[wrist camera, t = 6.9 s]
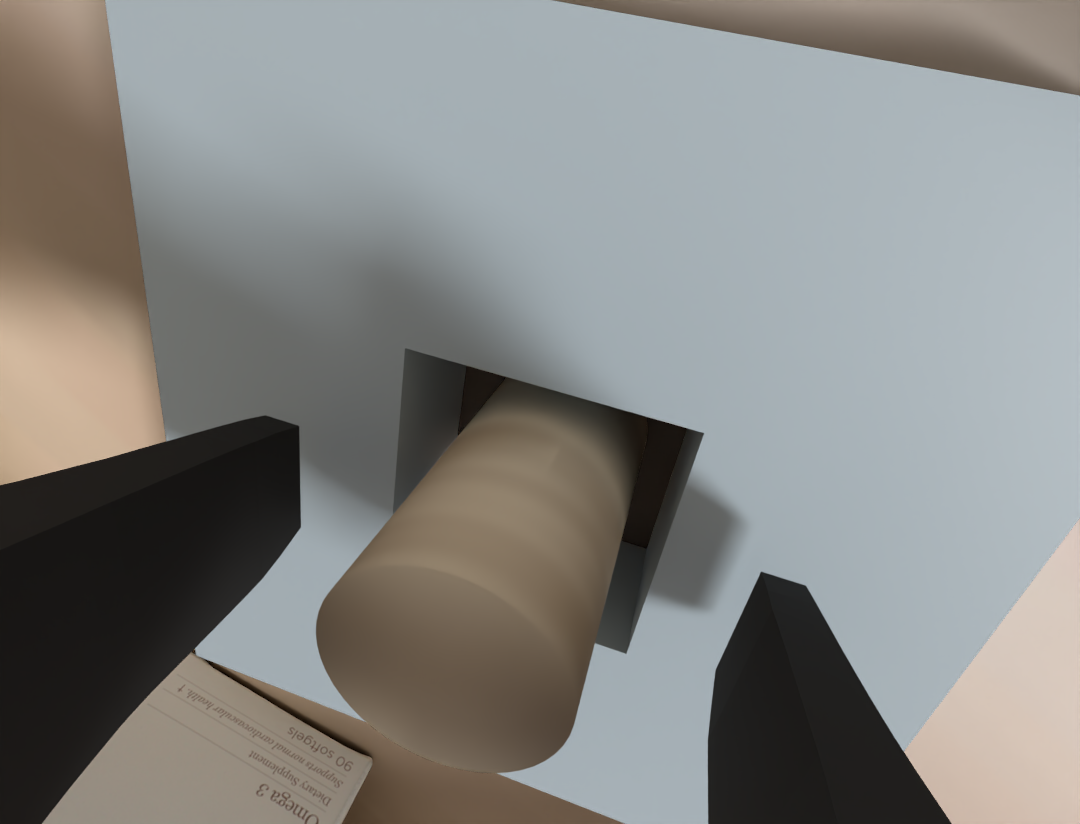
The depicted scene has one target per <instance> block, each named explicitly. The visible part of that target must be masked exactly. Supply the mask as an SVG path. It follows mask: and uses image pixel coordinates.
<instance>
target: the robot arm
mask: <svg viewBox="0 0 1080 824" xmlns="http://www.w3.org/2000/svg"><path fill="white" fill-rule="evenodd" d="M300 528H301V496H300V436H299V426H298V425H295V424H292V423H288V422H285V421H282V420H279V419H276V418H273V417H269V416H266V415H264V416H259V417H254V418H249V419H245V420H241V421H237V422H233V423H230V424H226V425H222V426H218V427H215V428H211V429H208V430H204V431H201V432H197V433H194V434H190V435H187V436H183V437H180V438H177V439H173V440H170V441H166V442H163V443H159V444H156V445H152V446H149V447H145V448H142V449H138V450H135V451H131V452H128V453H124V454H121V455H117V456H114V457H110V458H107V459H103V460H99V461H95V462H91V463H87V464H83V465H80V466H76V467H72V468H68V469H64V470H60V471H56V472H52V473H48V474H45V475H41V476H37V477H33V478H29V479H25V480H21V481H17V482H13V483H8V484H4V485H0V824H42V823H43V822H44V820H45V819H46V818H47V817H48V815H49V814H50V813H51V811H52V810H53V809H54V808H55V806H56V805H57V804H58V803H59V801H60V800H61V799H62V797H63V796H64V795H65V794H66V792H67V791H68V790H69V788H70V787H71V786H72V785H73V784H74V782H75V781H76V780H77V779H78V777H79V776H80V775H81V774H82V773H83V771H84V770H85V769H86V768H87V767H88V765H89V764H90V763H91V762H92V760H93V759H94V758H95V757H96V756H97V754H98V753H99V752H100V751H101V750H102V748H103V747H104V746H105V745H106V743H107V742H108V741H109V740H110V739H111V737H112V736H113V735H114V734H115V733H116V731H117V730H118V729H119V728H120V726H121V725H122V724H123V723H124V722H125V721H126V720H127V719H128V717H129V716H130V715H131V714H132V713H133V712H134V711H135V710H136V709H137V708H138V707H139V705H140V704H141V703H142V702H143V701H144V700H145V699H146V698H147V697H148V696H149V695H150V693H151V692H152V691H153V690H154V689H155V688H156V687H157V686H158V685H159V684H160V683H161V682H162V681H163V680H164V679H165V678H166V677H167V676H168V675H169V674H170V673H171V672H172V671H173V670H174V669H175V668H176V667H177V666H178V665H179V664H180V663H181V662H182V661H183V660H184V659H185V658H186V657H187V656H188V655H189V654H190V653H191V652H192V651H193V650H194V649H195V648H196V647H197V646H198V645H199V644H200V643H201V642H202V641H203V640H204V639H205V638H206V637H207V636H208V635H209V634H210V633H211V632H212V631H213V630H214V629H215V628H216V627H217V625H218V624H219V623H220V622H221V621H222V620H223V619H224V618H225V617H226V616H227V615H228V614H229V613H230V612H231V611H232V610H233V609H234V608H235V607H236V606H237V605H238V604H239V603H240V602H241V601H242V600H243V599H244V598H245V597H246V596H247V595H248V594H249V593H250V592H251V590H252V589H253V588H254V587H255V586H256V585H257V584H258V583H259V582H260V581H261V580H262V579H263V578H264V576H265V575H266V574H267V572H268V571H269V570H270V569H271V567H272V566H273V565H274V563H275V562H276V561H277V560H278V558H279V557H280V556H281V554H282V553H283V552H284V550H285V549H286V547H287V546H288V545H289V543H290V542H291V541H292V539H293V538H294V536H295V535H296V534H297V532H298V531H299V529H300ZM708 824H951V822H950V821H949V819H948V818H947V816H946V815H945V813H944V812H943V810H942V809H941V807H940V806H939V804H938V803H937V801H936V800H935V798H934V797H933V795H932V794H931V792H930V791H929V789H928V788H927V786H926V785H925V784H924V782H923V781H922V779H921V778H920V776H919V775H918V773H917V772H916V770H915V769H914V767H913V765H912V764H911V762H910V761H909V759H908V758H907V756H906V755H905V753H904V751H903V750H902V748H901V747H900V745H899V744H898V742H897V740H896V739H895V737H894V736H893V734H892V732H891V731H890V729H889V728H888V726H887V724H886V723H885V721H884V720H883V718H882V716H881V715H880V713H879V711H878V710H877V708H876V706H875V705H874V703H873V701H872V700H871V698H870V696H869V695H868V693H867V691H866V690H865V688H864V686H863V685H862V683H861V681H860V679H859V678H858V676H857V674H856V673H855V671H854V669H853V667H852V666H851V664H850V662H849V660H848V659H847V657H846V655H845V653H844V652H843V650H842V648H841V646H840V645H839V643H838V641H837V639H836V638H835V636H834V634H833V632H832V631H831V629H830V627H829V625H828V623H827V622H826V620H825V618H824V616H823V614H822V613H821V611H820V609H819V607H818V606H817V604H816V602H815V600H814V598H813V597H812V595H811V593H810V592H809V590H808V588H807V586H806V585H802V584H799V583H796V582H793V581H790V580H787V579H783V578H780V577H777V576H774V575H771V574H768V573H764V572H761V573H760V575H759V577H758V579H757V581H756V584H755V586H754V588H753V590H752V592H751V594H750V597H749V599H748V601H747V603H746V605H745V607H744V610H743V612H742V614H741V616H740V618H739V620H738V623H737V625H736V627H735V629H734V631H733V633H732V635H731V638H730V640H729V642H728V644H727V646H726V648H725V651H724V653H723V655H722V657H721V659H720V661H719V664H718V666H717V668H716V670H715V679H714V687H713V695H712V704H711V713H710V723H709V733H708Z"/></svg>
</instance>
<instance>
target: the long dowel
mask: <svg viewBox="0 0 1080 824" xmlns="http://www.w3.org/2000/svg"><path fill="white" fill-rule="evenodd" d="M647 428H648V426H647V417H646V416H642V415H639V414H635V413H632V412H628V411H625V410H621V409H618V408H614V407H611V406H607V405H604V404H600V403H596V402H593V401H589V400H586V399H582V398H579V397H575V396H572V395H568V394H565V393H561V392H558V391H554V390H551V389H547V388H544V387H540V386H537V385H533V384H530V383H526V382H523V381H519V380H516V379H512V378H509V377H506V379H505V380H504V381H503V382H502V383H501V385H500V386H499V387H498V388H497V390H496V391H495V392H494V393H493V394H492V396H491V397H490V398H489V399H488V400H487V402H486V403H485V404H484V405H483V406H482V408H481V409H480V410H479V411H478V413H477V414H476V415H475V416H474V417H473V419H472V420H471V421H470V422H469V423H468V425H467V426H466V427H465V428H464V429H463V431H462V432H461V433H460V434H459V436H458V437H457V438H456V439H455V440H454V442H453V443H452V444H451V445H450V446H449V448H448V449H447V450H446V451H445V452H444V454H443V455H442V456H441V457H440V458H439V460H438V461H437V462H436V463H435V465H434V466H433V467H432V468H431V469H430V471H429V472H428V473H427V474H426V475H425V477H424V478H423V479H422V480H421V481H420V483H419V484H418V485H417V486H416V488H415V489H414V490H413V491H412V492H411V494H410V495H409V496H408V497H407V498H406V500H405V501H404V502H403V503H402V504H401V506H400V507H399V508H398V509H397V511H396V512H395V513H394V514H393V515H392V517H391V518H390V519H389V520H388V521H387V523H386V524H385V525H384V526H383V527H382V529H381V530H380V531H379V532H378V534H377V535H376V536H375V537H374V538H373V540H372V541H371V542H370V543H369V544H368V546H367V547H366V548H365V549H364V550H363V552H362V553H361V554H360V555H359V556H358V558H357V559H356V560H355V561H354V563H353V564H352V565H351V566H350V567H349V569H348V570H347V571H346V572H345V573H344V575H343V576H342V577H341V578H340V579H339V581H338V582H337V583H336V584H335V586H334V587H333V588H332V589H331V590H330V592H329V593H328V595H327V596H326V597H325V599H324V600H323V602H322V605H321V607H320V609H319V612H318V616H317V621H316V640H317V647H318V651H319V655H320V658H321V661H322V663H323V666H324V668H325V670H326V672H327V674H328V676H329V678H330V680H331V681H332V683H333V685H334V686H335V688H336V689H337V691H338V692H339V693H340V695H341V696H342V697H343V699H344V700H345V701H346V702H347V703H348V704H349V706H350V707H351V708H352V709H353V710H354V711H355V712H356V713H357V714H358V715H359V716H360V717H361V718H362V719H363V720H364V721H366V722H367V723H368V724H369V725H370V726H371V727H373V728H374V729H375V730H377V731H378V732H379V733H381V734H382V735H383V736H385V737H386V738H388V739H389V740H391V741H393V742H394V743H396V744H397V745H399V746H401V747H402V748H404V749H406V750H408V751H410V752H412V753H414V754H416V755H418V756H421V757H423V758H425V759H428V760H430V761H433V762H436V763H439V764H442V765H445V766H448V767H452V768H456V769H460V770H466V771H472V772H481V773H507V772H514V771H520V770H524V769H527V768H530V767H534V766H536V765H538V764H540V763H542V762H544V761H546V760H547V759H549V758H550V757H552V756H553V755H555V754H556V753H557V752H558V751H559V750H560V749H561V748H562V747H563V745H564V744H565V742H566V741H567V739H568V738H569V736H570V734H571V731H572V729H573V726H574V723H575V719H576V715H577V711H578V707H579V704H580V700H581V696H582V692H583V688H584V684H585V680H586V676H587V672H588V668H589V664H590V660H591V657H592V653H593V649H594V645H595V641H596V637H597V633H598V629H599V625H600V621H601V617H602V613H603V610H604V606H605V602H606V598H607V594H608V590H609V586H610V582H611V578H612V574H613V570H614V566H615V563H616V559H617V555H618V551H619V547H620V543H621V539H622V535H623V531H624V527H625V523H626V519H627V516H628V512H629V508H630V504H631V500H632V496H633V492H634V488H635V484H636V480H637V476H638V472H639V469H640V465H641V461H642V457H643V453H644V449H645V445H646V440H647Z"/></svg>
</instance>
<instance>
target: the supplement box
mask: <svg viewBox="0 0 1080 824" xmlns="http://www.w3.org/2000/svg"><path fill="white" fill-rule="evenodd" d="M372 763H373V762H372V758H371V757H369V756H366V755H363V754H360V753H358V752H356V751H354V750H351V749H349V748H347V747H345V746H343V745H342V744H340V743H338V742H336V741H335V740H333V739H331V738H330V737H328V736H326V735H324V734H323V733H321V732H319V731H317V730H316V729H314V728H312V727H311V726H309V725H307V724H305V723H304V722H302V721H300V720H299V719H297V718H295V717H293V716H292V715H290V714H288V713H287V712H285V711H283V710H282V709H280V708H279V707H277V706H275V705H274V704H272V703H270V702H269V701H267V700H266V699H264V698H262V697H260V696H259V695H257V694H255V693H254V692H252V691H251V690H249V689H248V688H246V687H244V686H242V685H241V684H239V683H237V682H236V681H234V680H232V679H231V678H229V677H227V676H226V675H224V674H222V673H221V672H219V671H218V670H216V669H214V668H213V667H212V666H210V665H209V664H208V663H207V662H206V661H205V660H203V659H202V658H200V657H199V656H196V655H195V654H194V653H192V652H191V653H190V654H189V655H188V656H187V657H186V658H185V659H184V660H183V661H182V662H181V663H180V664H179V665H178V666H177V667H176V668H175V669H174V670H173V671H172V672H171V673H170V674H169V675H168V676H167V677H166V678H165V679H164V680H163V681H162V682H161V683H160V684H159V685H158V686H157V687H156V688H155V689H154V690H153V691H152V692H151V693H150V695H149V696H148V697H147V698H146V699H145V700H144V701H143V702H142V703H141V704H140V705H139V707H138V708H137V709H136V710H135V711H134V712H133V713H132V714H131V715H130V716H129V717H128V719H127V720H126V721H125V722H124V723H123V724H122V725H121V726H120V728H119V729H118V730H117V731H116V733H115V734H114V735H113V736H112V737H111V739H110V740H109V741H108V742H107V743H106V745H105V746H104V747H103V748H102V750H101V751H100V752H99V753H98V754H97V756H96V757H95V758H94V759H93V760H92V762H91V763H90V764H89V765H88V767H87V768H86V769H85V770H84V771H83V773H82V774H81V775H80V776H79V777H78V779H77V780H76V781H75V782H74V784H73V785H72V786H71V787H70V788H69V790H68V791H67V792H66V794H65V795H64V796H63V797H62V799H61V800H60V801H59V803H58V804H57V805H56V806H55V808H54V809H53V810H52V811H51V813H50V814H49V815H48V817H47V818H46V819H45V820H44V822H43V823H42V824H342V822H343V821H344V819H345V817H346V815H347V813H348V811H349V809H350V807H351V805H352V803H353V801H354V799H355V797H356V795H357V793H358V791H359V790H360V788H361V786H362V784H363V782H364V780H365V778H366V776H367V774H368V772H369V771H370V769H371V767H372Z"/></svg>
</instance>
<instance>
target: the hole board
mask: <svg viewBox="0 0 1080 824" xmlns="http://www.w3.org/2000/svg"><path fill="white" fill-rule="evenodd" d="M105 4H106V11H107V18H108V25H109V32H110V40H111V47H112V54H113V61H114V68H115V76H116V83H117V90H118V97H119V104H120V112H121V119H122V126H123V133H124V140H125V147H126V155H127V162H128V169H129V176H130V183H131V191H132V198H133V205H134V212H135V219H136V227H137V234H138V241H139V248H140V255H141V263H142V270H143V277H144V284H145V291H146V299H147V306H148V313H149V320H150V327H151V334H152V342H153V349H154V356H155V363H156V370H157V378H158V385H159V392H160V399H161V406H162V414H163V421H164V428H165V435H166V441H170V440H173V439H177V438H180V437H183V436H187V435H190V434H194V433H197V432H201V431H204V430H208V429H211V428H215V427H218V426H222V425H226V424H230V423H233V422H237V421H241V420H245V419H249V418H254V417H259V416H264V415H266V416H269V417H273V418H276V419H279V420H282V421H285V422H288V423H292V424H295V425H298V426H299V436H300V496H301V528H300V529H299V531H298V532H297V534H296V535H295V536H294V538H293V539H292V541H291V542H290V543H289V545H288V546H287V547H286V549H285V550H284V552H283V553H282V554H281V556H280V557H279V558H278V560H277V561H276V562H275V563H274V565H273V566H272V567H271V569H270V570H269V571H268V572H267V574H266V575H265V576H264V578H263V579H262V580H261V581H260V582H259V583H258V584H257V585H256V586H255V587H254V588H253V589H252V590H251V592H250V593H249V594H248V595H247V596H246V597H245V598H244V599H243V600H242V601H241V602H240V603H239V604H238V605H237V606H236V607H235V608H234V609H233V610H232V611H231V612H230V613H229V614H228V615H227V616H226V617H225V618H224V619H223V620H222V621H221V622H220V623H219V624H218V625H217V627H216V628H215V629H214V630H213V631H212V632H211V633H210V634H209V635H208V636H207V637H206V638H205V639H204V640H203V641H202V642H201V643H200V644H199V645H198V646H197V647H196V648H195V651H196V656H199V657H201V658H204V659H206V660H209V661H212V662H214V663H217V664H219V665H222V666H224V667H227V668H229V669H232V670H234V671H237V672H240V673H242V674H245V675H247V676H250V677H252V678H255V679H257V680H260V681H263V682H265V683H268V684H270V685H273V686H275V687H278V688H280V689H283V690H285V691H288V692H291V693H293V694H296V695H298V696H301V697H303V698H306V699H308V700H311V701H313V702H316V703H319V704H321V705H324V706H326V707H329V708H331V709H334V710H336V711H339V712H342V713H344V714H347V715H349V716H352V717H354V718H357V719H359V720H362V721H364V720H363V719H362V718H361V717H360V716H359V715H358V714H357V713H356V712H355V711H354V710H353V709H352V708H351V707H350V706H349V704H348V703H347V702H346V701H345V700H344V699H343V697H342V696H341V695H340V693H339V692H338V691H337V689H336V688H335V686H334V685H333V683H332V681H331V680H330V678H329V676H328V674H327V672H326V670H325V668H324V666H323V663H322V661H321V658H320V655H319V651H318V647H317V640H316V621H317V616H318V612H319V609H320V607H321V605H322V602H323V600H324V599H325V597H326V596H327V595H328V593H329V592H330V590H331V589H332V588H333V587H334V586H335V584H336V583H337V582H338V581H339V579H340V578H341V577H342V576H343V575H344V573H345V572H346V571H347V570H348V569H349V567H350V566H351V565H352V564H353V563H354V561H355V560H356V559H357V558H358V556H359V555H360V554H361V553H362V552H363V550H364V549H365V548H366V547H367V546H368V544H369V543H370V542H371V541H372V540H373V538H374V537H375V536H376V535H377V534H378V532H379V531H380V530H381V529H382V527H383V526H384V525H385V524H386V523H387V521H388V520H389V519H390V518H391V517H392V515H393V514H394V513H395V512H396V511H397V509H398V508H399V507H400V506H401V504H402V503H403V502H404V501H405V500H406V498H407V497H408V496H409V495H410V494H411V492H412V491H413V490H414V489H415V488H416V486H417V485H418V484H419V483H420V481H421V480H422V479H423V478H424V477H425V475H426V474H427V473H428V472H429V471H430V469H431V468H432V467H433V466H434V465H435V463H436V462H437V461H438V460H439V458H440V457H441V456H442V455H443V454H444V452H445V451H446V450H447V449H448V448H449V446H450V445H451V444H452V443H453V442H454V440H455V439H456V438H457V436H458V428H459V420H460V413H461V405H462V397H463V389H464V381H465V373H466V366H470V367H473V368H477V369H480V370H484V371H487V372H491V373H494V374H498V375H502V376H505V377H509V378H512V379H516V380H519V381H523V382H526V383H530V384H533V385H537V386H540V387H544V388H547V389H551V390H554V391H558V392H561V393H565V394H568V395H572V396H575V397H579V398H582V399H586V400H589V401H593V402H596V403H600V404H604V405H607V406H611V407H614V408H618V409H621V410H625V411H628V412H632V413H635V414H639V415H642V416H646V417H649V418H653V419H656V420H660V421H663V422H667V423H670V424H674V425H677V426H681V427H684V428H687V430H686V433H685V436H684V439H683V442H682V445H681V448H680V451H679V454H678V457H677V460H676V463H675V466H674V469H673V472H672V475H671V478H670V481H669V484H668V487H667V490H666V493H665V496H664V499H663V502H662V505H661V508H660V511H659V514H658V517H657V519H656V522H655V525H654V528H653V531H652V534H651V537H650V540H649V543H648V546H647V549H646V548H642V547H639V546H636V545H633V544H630V543H627V542H624V541H621V543H620V547H619V551H618V555H617V559H616V563H615V566H614V570H613V574H612V578H611V582H610V586H609V590H608V594H607V598H606V602H605V606H604V610H603V613H602V617H601V621H600V625H599V629H598V633H597V637H596V641H595V645H594V649H593V653H592V657H591V660H590V664H589V668H588V672H587V676H586V680H585V684H584V688H583V692H582V696H581V700H580V704H579V707H578V711H577V715H576V719H575V723H574V726H573V729H572V731H571V734H570V736H569V738H568V739H567V741H566V742H565V744H564V745H563V747H562V748H561V749H560V750H559V751H558V752H557V753H556V754H555V755H553V756H552V757H550V758H549V759H547V760H546V761H544V762H542V763H540V764H538V765H536V766H534V767H530V768H527V769H524V770H520V771H514V772H507V773H497V774H500V775H502V776H505V777H507V778H510V779H512V780H515V781H517V782H520V783H523V784H525V785H528V786H530V787H533V788H535V789H538V790H540V791H543V792H545V793H548V794H551V795H553V796H556V797H558V798H561V799H563V800H566V801H568V802H571V803H573V804H576V805H579V806H581V807H584V808H586V809H589V810H591V811H594V812H596V813H599V814H602V815H604V816H607V817H609V818H612V819H614V820H617V821H619V822H622V823H624V824H708V733H709V723H710V713H711V704H712V695H713V687H714V679H715V670H716V668H717V666H718V664H719V661H720V659H721V657H722V655H723V653H724V651H725V648H726V646H727V644H728V642H729V640H730V638H731V635H732V633H733V631H734V629H735V627H736V625H737V623H738V620H739V618H740V616H741V614H742V612H743V610H744V607H745V605H746V603H747V601H748V599H749V597H750V594H751V592H752V590H753V588H754V586H755V584H756V581H757V579H758V577H759V575H760V573H761V572H764V573H768V574H771V575H774V576H777V577H780V578H783V579H787V580H790V581H793V582H796V583H799V584H802V585H806V586H807V588H808V590H809V592H810V593H811V595H812V597H813V598H814V600H815V602H816V604H817V606H818V607H819V609H820V611H821V613H822V614H823V616H824V618H825V620H826V622H827V623H828V625H829V627H830V629H831V631H832V632H833V634H834V636H835V638H836V639H837V641H838V643H839V645H840V646H841V648H842V650H843V652H844V653H845V655H846V657H847V659H848V660H849V662H850V664H851V666H852V667H853V669H854V671H855V673H856V674H857V676H858V678H859V679H860V681H861V683H862V685H863V686H864V688H865V690H866V691H867V693H868V695H869V696H870V698H871V700H872V701H873V703H874V705H875V706H876V708H877V710H878V711H879V713H880V715H881V716H882V718H883V720H884V721H885V723H886V724H887V726H888V728H889V729H890V731H891V732H892V734H893V736H894V737H895V739H896V740H897V742H898V744H899V745H900V747H901V748H902V750H903V751H905V749H906V748H907V747H908V745H909V744H910V743H911V741H912V740H913V739H914V737H915V736H916V735H917V733H918V732H919V731H920V729H921V728H922V727H923V725H924V724H925V723H926V721H927V720H928V719H929V717H930V716H931V715H932V713H933V712H934V711H935V709H936V708H937V707H938V706H939V704H940V703H941V702H942V700H943V699H944V698H945V696H946V695H947V694H948V692H949V691H950V690H951V688H952V687H953V686H954V684H955V683H956V682H957V680H958V679H959V678H960V676H961V675H962V674H963V672H964V671H965V670H966V668H967V667H968V666H969V664H970V663H971V662H972V660H973V659H974V658H975V656H976V655H977V654H978V652H979V651H980V650H981V648H982V647H983V646H984V645H985V643H986V642H987V641H988V639H989V638H990V637H991V635H992V634H993V633H994V631H995V630H996V629H997V627H998V626H999V625H1000V623H1001V622H1002V621H1003V619H1004V618H1005V617H1006V615H1007V614H1008V613H1009V611H1010V610H1011V609H1012V607H1013V606H1014V605H1015V603H1016V602H1017V601H1018V599H1019V598H1020V597H1021V595H1022V594H1023V593H1024V591H1025V590H1026V589H1027V587H1028V586H1029V585H1030V583H1031V582H1032V581H1033V580H1034V578H1035V577H1036V576H1037V574H1038V573H1039V572H1040V570H1041V569H1042V568H1043V566H1044V565H1045V564H1046V562H1047V561H1048V560H1049V558H1050V557H1051V556H1052V554H1053V553H1054V552H1055V550H1056V549H1057V548H1058V546H1059V545H1060V544H1061V542H1062V541H1063V540H1064V538H1065V537H1066V536H1067V534H1068V533H1069V532H1070V530H1071V529H1072V528H1073V526H1074V525H1075V524H1076V522H1077V521H1078V520H1079V519H1080V96H1079V95H1074V94H1068V93H1063V92H1057V91H1051V90H1046V89H1040V88H1035V87H1029V86H1024V85H1018V84H1013V83H1007V82H1002V81H996V80H991V79H985V78H979V77H974V76H968V75H963V74H957V73H952V72H946V71H941V70H935V69H930V68H924V67H919V66H913V65H908V64H902V63H896V62H891V61H885V60H880V59H874V58H869V57H863V56H858V55H852V54H847V53H841V52H836V51H830V50H824V49H819V48H813V47H808V46H802V45H797V44H791V43H786V42H780V41H775V40H769V39H764V38H758V37H752V36H747V35H741V34H736V33H730V32H725V31H719V30H714V29H708V28H703V27H697V26H692V25H686V24H681V23H675V22H669V21H664V20H658V19H653V18H647V17H642V16H636V15H631V14H625V13H620V12H614V11H609V10H603V9H597V8H592V7H586V6H581V5H575V4H570V3H564V2H559V1H553V0H105ZM364 722H366V721H364Z"/></svg>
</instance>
